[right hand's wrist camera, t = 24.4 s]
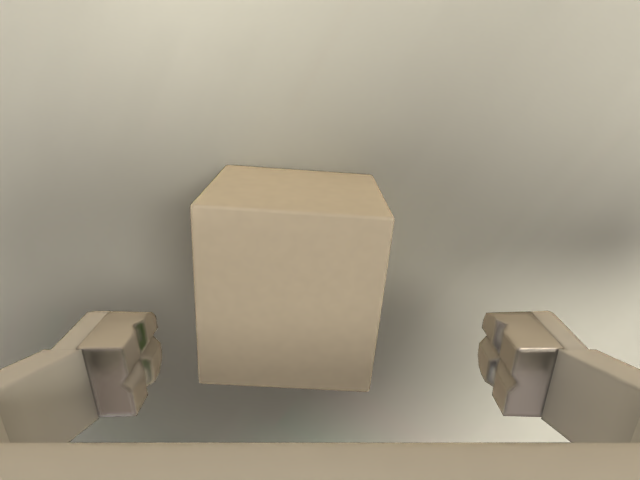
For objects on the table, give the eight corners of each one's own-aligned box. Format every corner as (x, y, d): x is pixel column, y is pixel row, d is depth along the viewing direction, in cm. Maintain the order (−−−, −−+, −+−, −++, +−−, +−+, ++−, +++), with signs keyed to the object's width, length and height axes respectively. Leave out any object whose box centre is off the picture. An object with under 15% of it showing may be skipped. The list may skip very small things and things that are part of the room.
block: (373, 174, 14) (395, 217, 10) (356, 311, 16) (369, 393, 12) (225, 164, 13) (189, 204, 10) (227, 304, 15) (198, 384, 12)
